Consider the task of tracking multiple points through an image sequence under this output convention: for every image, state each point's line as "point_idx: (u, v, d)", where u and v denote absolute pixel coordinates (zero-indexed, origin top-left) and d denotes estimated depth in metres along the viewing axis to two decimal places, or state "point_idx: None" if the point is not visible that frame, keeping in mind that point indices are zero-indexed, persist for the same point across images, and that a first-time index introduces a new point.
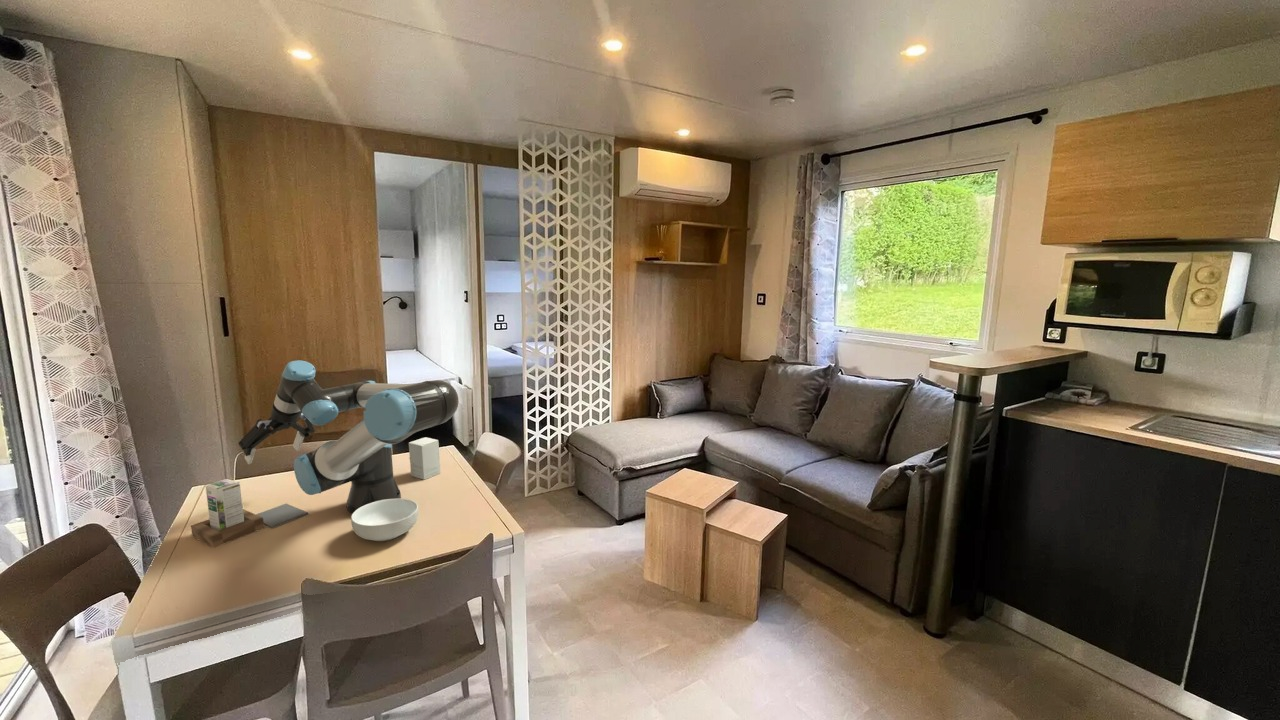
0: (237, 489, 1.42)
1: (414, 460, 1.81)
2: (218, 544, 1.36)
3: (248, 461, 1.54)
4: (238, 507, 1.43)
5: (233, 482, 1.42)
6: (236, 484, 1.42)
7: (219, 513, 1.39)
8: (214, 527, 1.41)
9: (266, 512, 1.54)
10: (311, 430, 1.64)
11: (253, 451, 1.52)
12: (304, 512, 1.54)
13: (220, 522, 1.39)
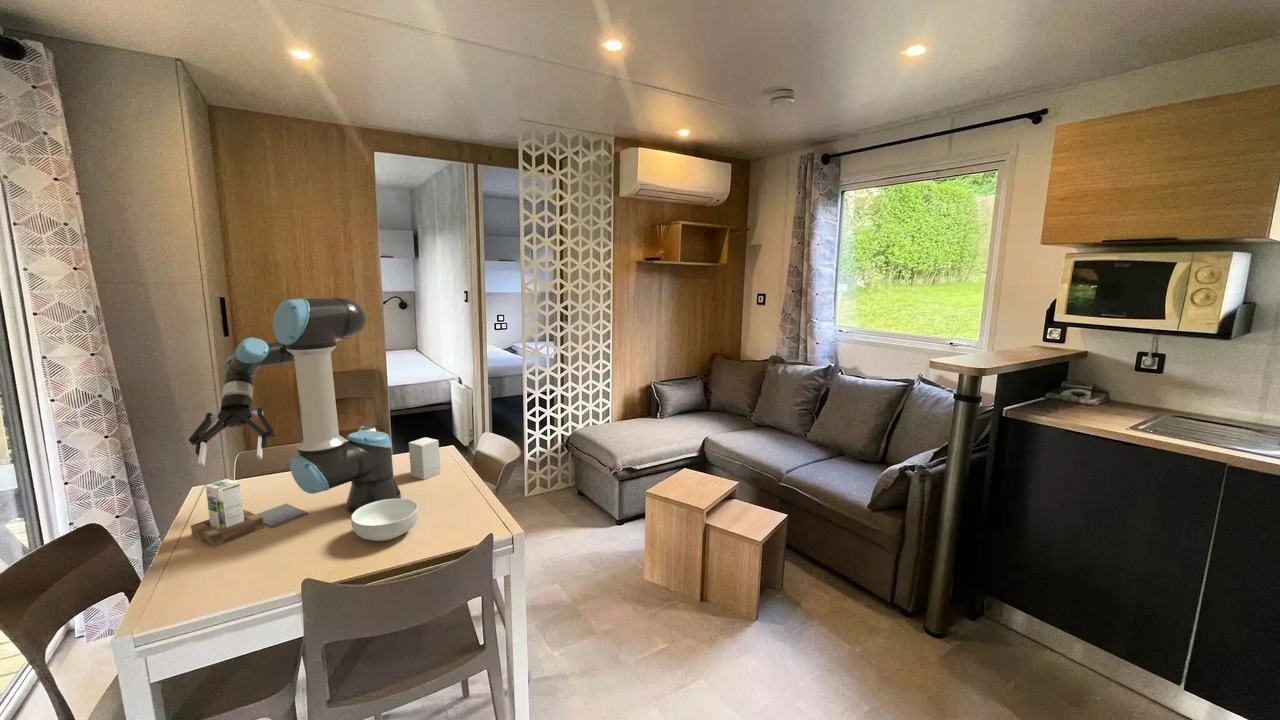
0: (237, 489, 1.42)
1: (414, 460, 1.81)
2: (218, 544, 1.36)
3: None
4: (238, 507, 1.43)
5: (233, 482, 1.42)
6: (236, 484, 1.42)
7: (219, 513, 1.39)
8: (214, 527, 1.41)
9: (266, 512, 1.54)
10: (268, 429, 1.57)
11: (201, 445, 1.49)
12: (304, 512, 1.54)
13: (220, 522, 1.39)
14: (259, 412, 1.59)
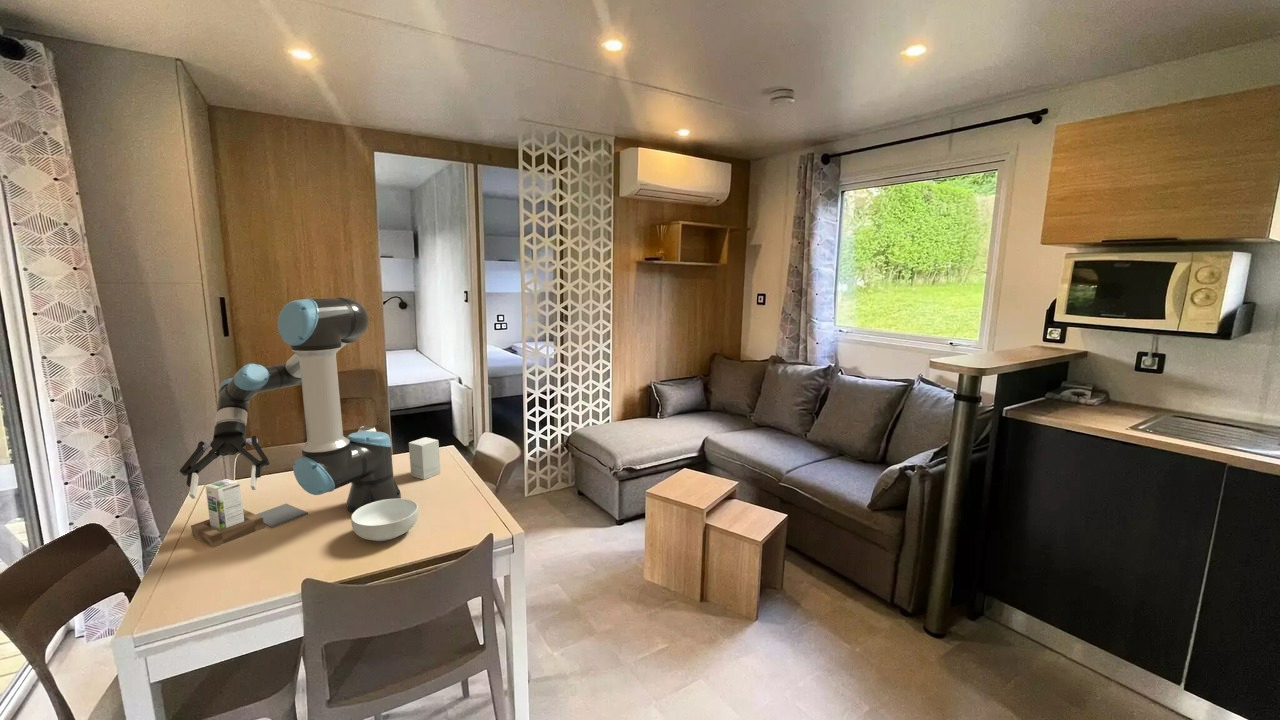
0: (237, 489, 1.42)
1: (414, 460, 1.81)
2: (218, 544, 1.36)
3: None
4: (238, 507, 1.43)
5: (233, 482, 1.42)
6: (236, 484, 1.42)
7: (219, 513, 1.39)
8: (214, 527, 1.41)
9: (266, 512, 1.54)
10: (263, 457, 1.51)
11: (193, 476, 1.43)
12: (304, 512, 1.54)
13: (220, 522, 1.39)
14: (253, 440, 1.53)
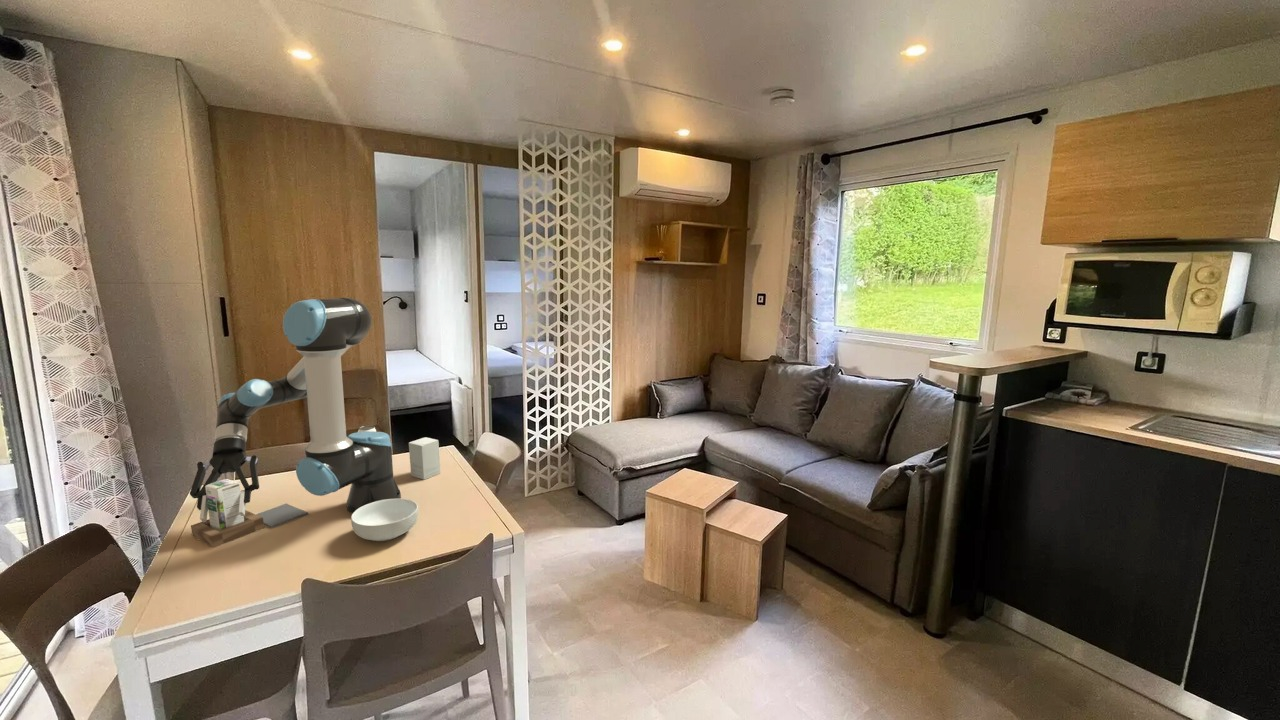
0: (237, 489, 1.42)
1: (414, 460, 1.81)
2: (218, 544, 1.36)
3: None
4: (238, 507, 1.43)
5: (233, 482, 1.42)
6: (236, 484, 1.42)
7: (219, 513, 1.39)
8: (214, 527, 1.41)
9: (266, 512, 1.54)
10: (253, 481, 1.46)
11: (203, 499, 1.39)
12: (304, 512, 1.54)
13: (219, 522, 1.39)
14: (252, 460, 1.49)
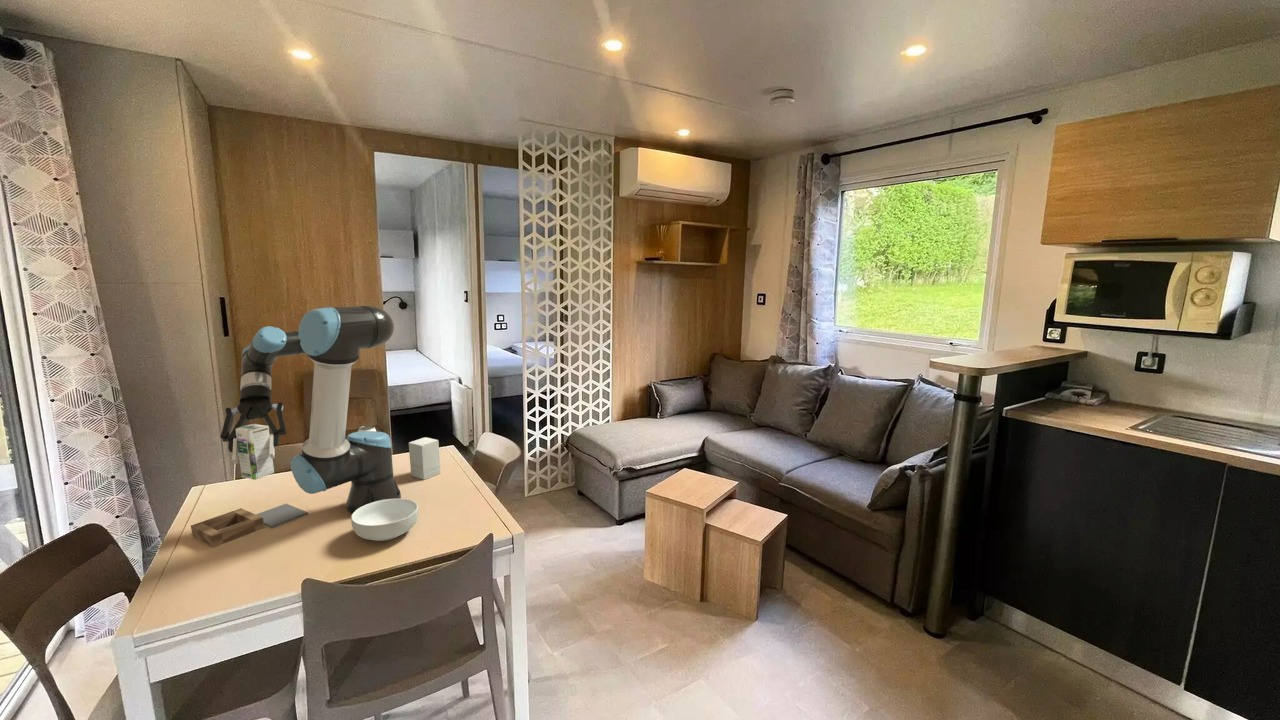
0: (266, 432, 1.46)
1: (414, 460, 1.81)
2: (218, 544, 1.36)
3: None
4: (267, 450, 1.47)
5: (262, 426, 1.46)
6: (265, 427, 1.46)
7: (250, 454, 1.43)
8: (245, 469, 1.44)
9: (266, 512, 1.54)
10: (281, 426, 1.50)
11: (234, 441, 1.43)
12: (304, 512, 1.54)
13: (251, 464, 1.43)
14: (279, 406, 1.53)
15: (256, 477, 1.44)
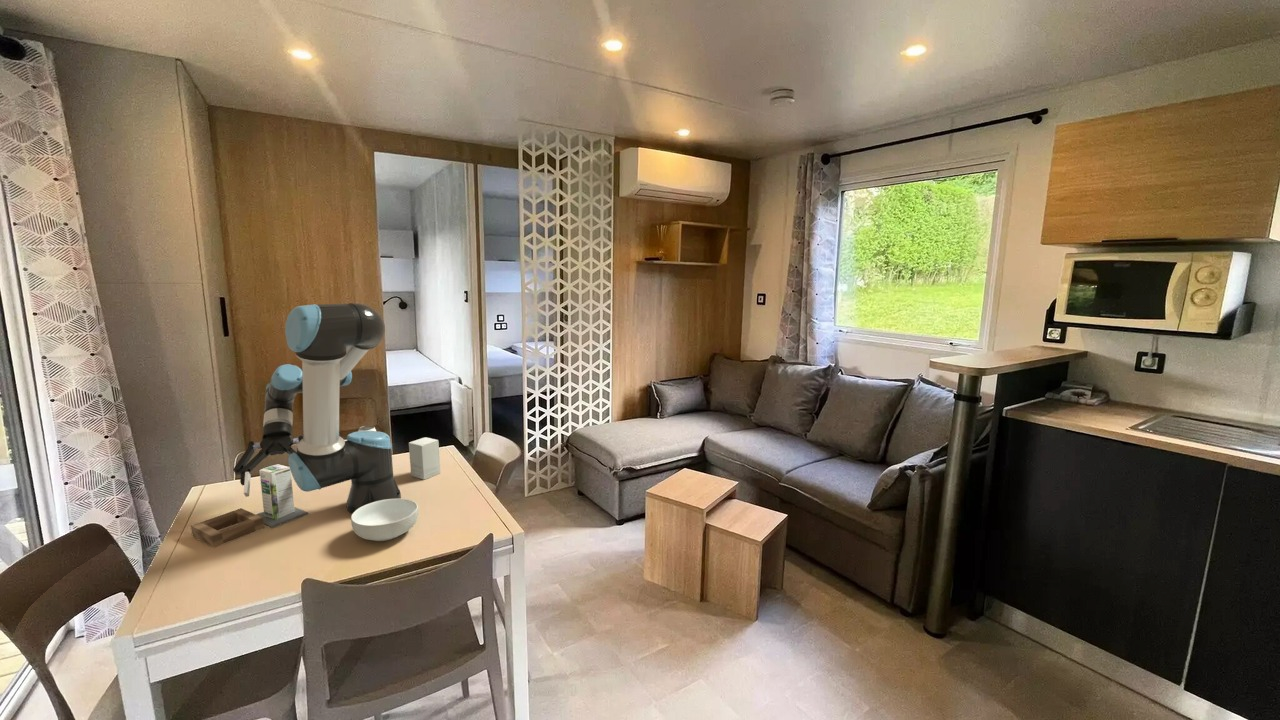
0: (288, 473, 1.52)
1: (414, 460, 1.81)
2: (218, 544, 1.36)
3: (244, 490, 1.46)
4: (289, 490, 1.52)
5: (284, 467, 1.51)
6: (287, 469, 1.51)
7: (272, 495, 1.48)
8: (267, 509, 1.50)
9: None
10: None
11: (246, 475, 1.48)
12: (304, 512, 1.54)
13: (272, 504, 1.49)
14: (300, 440, 1.59)
15: (277, 517, 1.50)
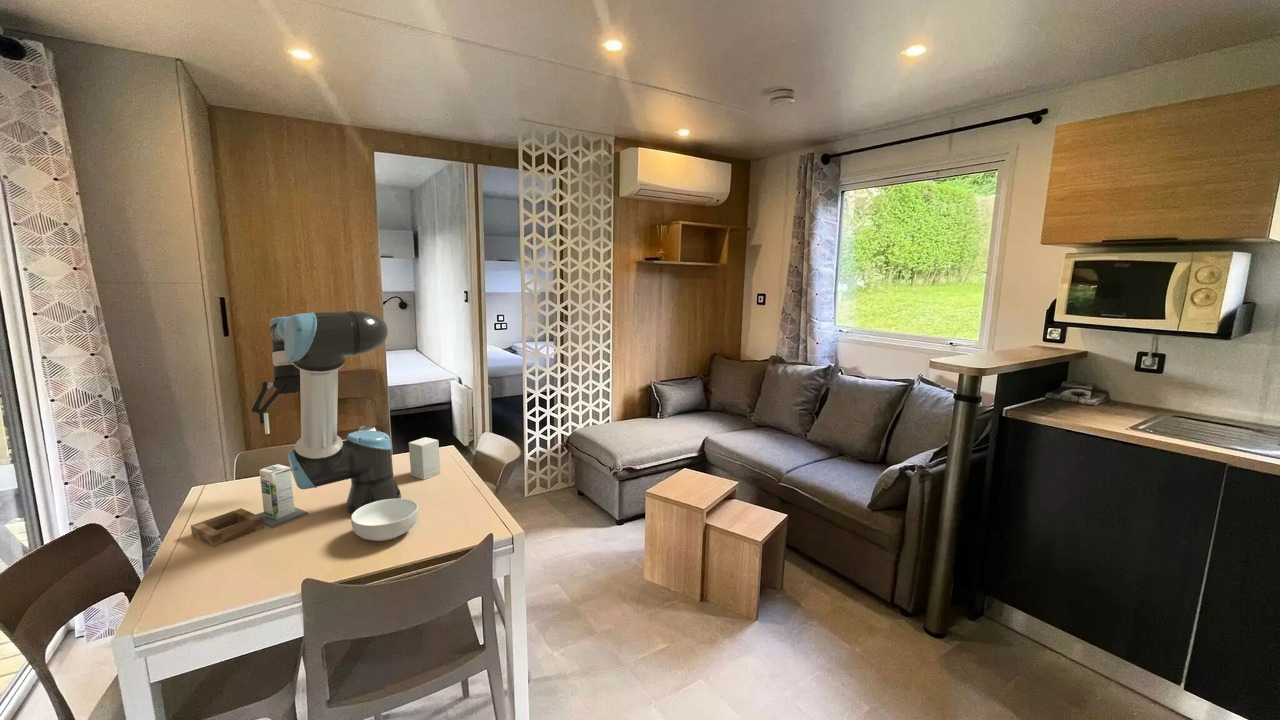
0: (288, 473, 1.52)
1: (414, 460, 1.81)
2: (218, 544, 1.36)
3: (265, 431, 1.61)
4: (289, 490, 1.52)
5: (284, 467, 1.51)
6: (287, 469, 1.51)
7: (272, 495, 1.48)
8: (267, 509, 1.50)
9: None
10: None
11: (265, 416, 1.61)
12: (304, 512, 1.54)
13: (272, 504, 1.49)
14: None
15: (277, 517, 1.50)
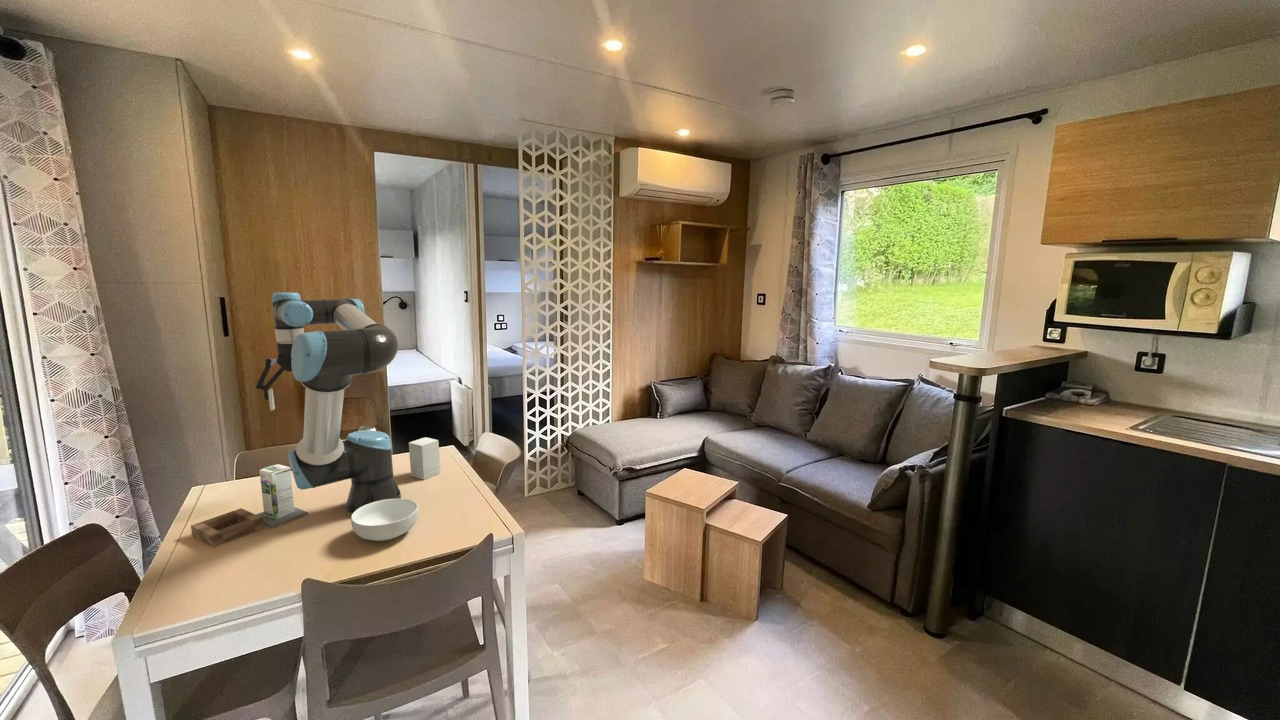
0: (288, 473, 1.52)
1: (414, 460, 1.81)
2: (218, 544, 1.36)
3: (270, 407, 1.61)
4: (289, 490, 1.52)
5: (284, 467, 1.51)
6: (287, 469, 1.51)
7: (272, 495, 1.48)
8: (267, 509, 1.50)
9: None
10: None
11: (269, 393, 1.60)
12: (304, 512, 1.54)
13: (272, 504, 1.49)
14: None
15: (277, 517, 1.50)
